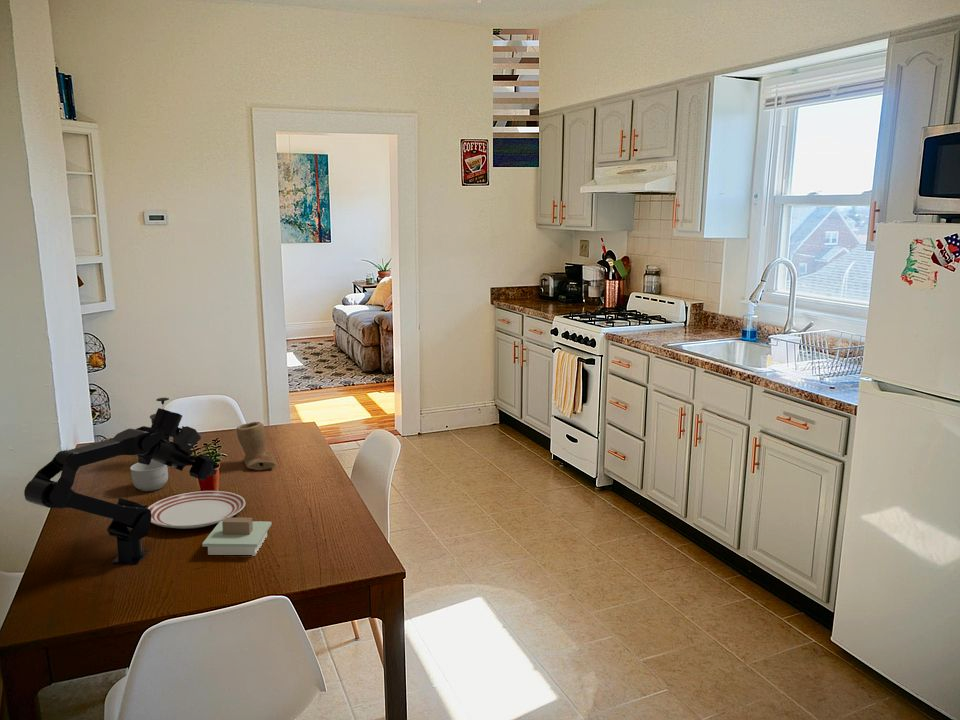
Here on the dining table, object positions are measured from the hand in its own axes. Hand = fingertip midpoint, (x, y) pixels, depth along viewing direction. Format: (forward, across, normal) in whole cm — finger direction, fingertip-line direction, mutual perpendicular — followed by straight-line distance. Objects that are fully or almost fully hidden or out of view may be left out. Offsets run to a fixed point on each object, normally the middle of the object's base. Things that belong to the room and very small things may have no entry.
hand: (204, 467), depth 207 cm
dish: (+3, -21, +15) cm, 26 cm away
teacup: (+19, +35, +12) cm, 41 cm away
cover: (+1, -20, +13) cm, 24 cm away
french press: (+34, +51, +4) cm, 61 cm away
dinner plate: (+10, +4, +14) cm, 18 cm away
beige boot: (+45, +22, -7) cm, 51 cm away
